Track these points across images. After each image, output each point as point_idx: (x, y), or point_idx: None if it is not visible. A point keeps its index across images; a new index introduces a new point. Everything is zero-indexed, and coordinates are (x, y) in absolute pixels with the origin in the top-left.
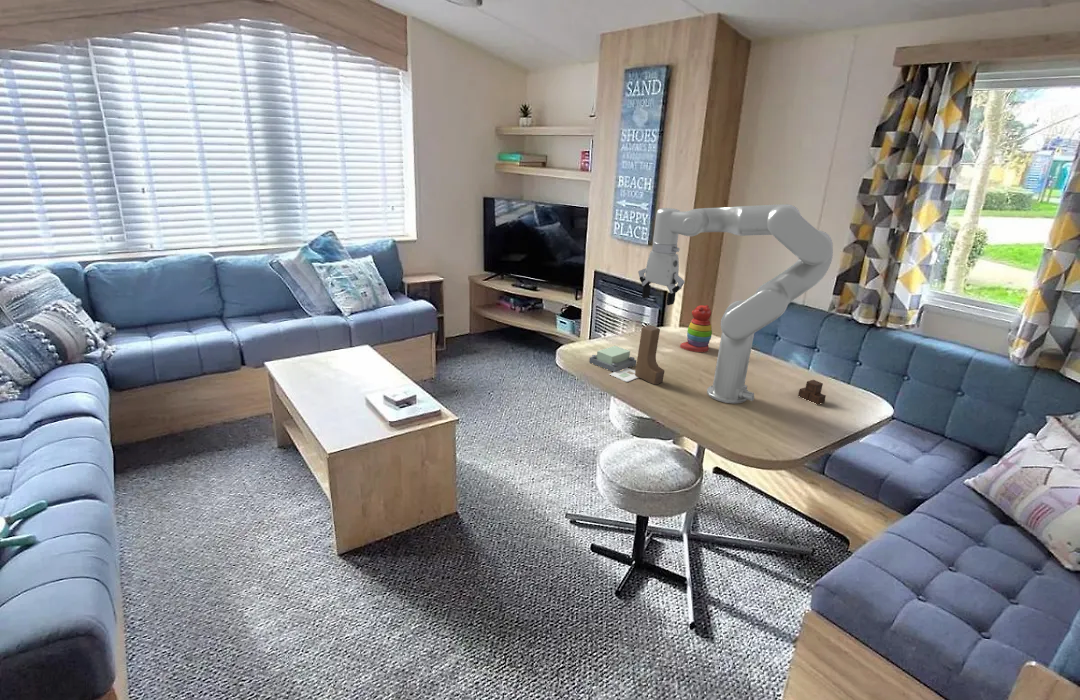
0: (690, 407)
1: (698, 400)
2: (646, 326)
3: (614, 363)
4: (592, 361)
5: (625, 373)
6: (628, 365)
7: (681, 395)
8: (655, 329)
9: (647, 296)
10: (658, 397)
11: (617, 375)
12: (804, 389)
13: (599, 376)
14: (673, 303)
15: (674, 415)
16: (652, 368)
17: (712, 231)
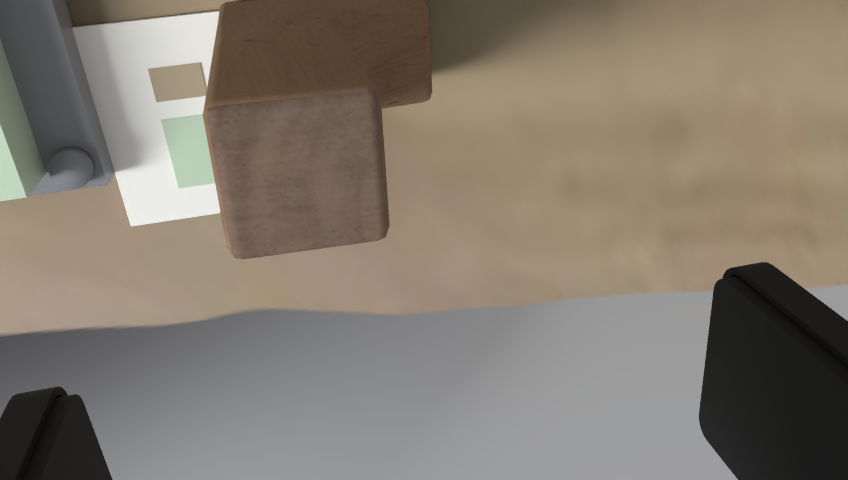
0: (714, 124)
1: (704, 9)
2: (244, 204)
3: (66, 171)
4: None
5: (172, 125)
6: (63, 16)
7: (603, 44)
8: (374, 171)
9: (96, 468)
10: (537, 184)
11: (176, 192)
12: None
13: (129, 287)
14: (762, 267)
15: (702, 257)
16: (378, 91)
17: None
